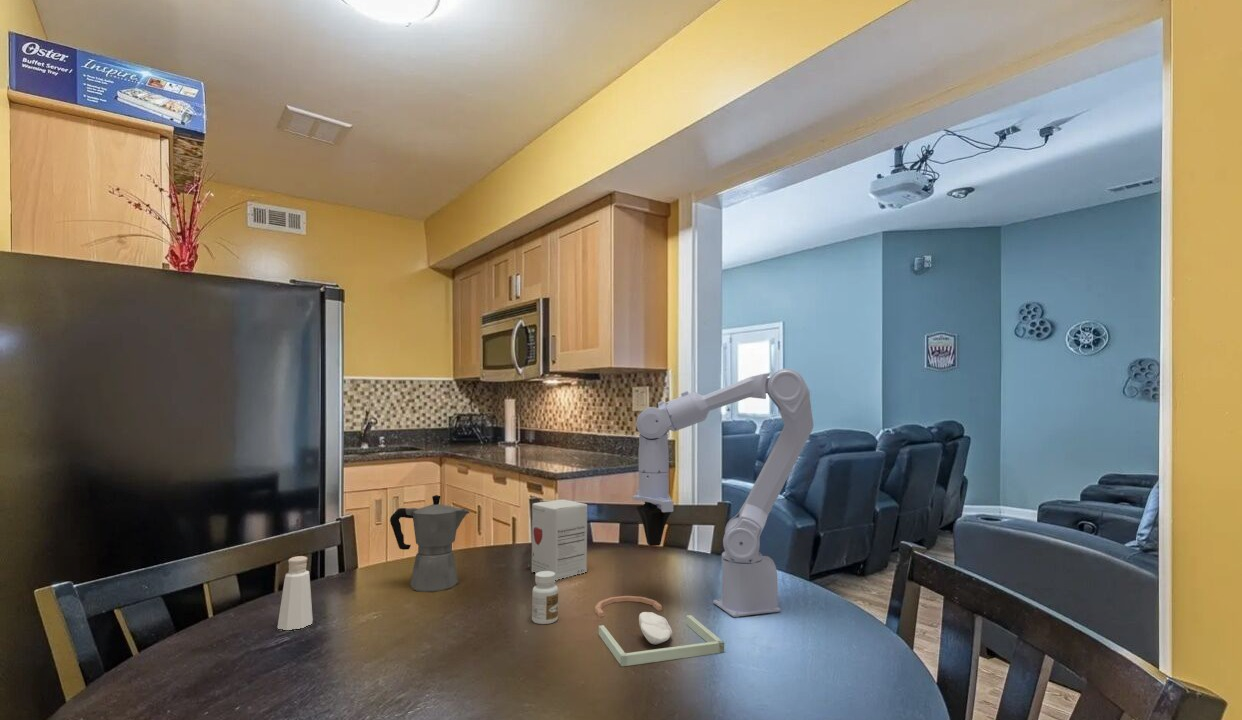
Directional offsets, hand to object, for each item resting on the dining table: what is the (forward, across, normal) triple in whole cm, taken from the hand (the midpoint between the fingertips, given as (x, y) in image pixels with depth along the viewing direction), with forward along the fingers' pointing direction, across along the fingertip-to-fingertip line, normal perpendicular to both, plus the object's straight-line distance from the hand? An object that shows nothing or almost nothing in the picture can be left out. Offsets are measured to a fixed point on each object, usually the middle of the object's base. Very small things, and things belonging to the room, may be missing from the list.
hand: (653, 544), depth 111 cm
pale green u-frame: (+10, +18, -6) cm, 22 cm away
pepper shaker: (+11, -7, -61) cm, 62 cm away
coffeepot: (+11, -23, -40) cm, 47 cm away
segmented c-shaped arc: (+10, +1, -6) cm, 12 cm away
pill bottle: (+11, +3, -21) cm, 24 cm away
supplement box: (+11, -24, -13) cm, 29 cm away
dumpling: (+11, +17, -6) cm, 21 cm away
